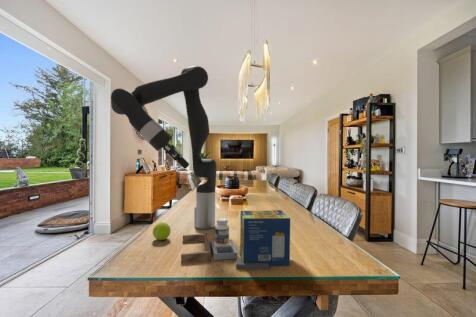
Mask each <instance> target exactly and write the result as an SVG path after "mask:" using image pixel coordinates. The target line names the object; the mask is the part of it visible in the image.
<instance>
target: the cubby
mask: <svg viewBox="0 0 476 317" xmlns="http://www.w3.org/2000/svg"><path fill="white" fill-rule="evenodd" d="M190 242H191V243H194V242H195V243H196V242H203V243H204V250H205V251H204V250H203V251H193V252H192V251H191V252H181V253H180V263H192V262H193V263H194V262H204V261H205V262H206V261H207V262H208V261H212V249H211V244H210V242H209V237H208V233H192V234H191V233H190V234H182V243H190Z"/></svg>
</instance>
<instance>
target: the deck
mask: <svg viewBox="0 0 476 317" xmlns="http://www.w3.org/2000/svg"><path fill="white" fill-rule="evenodd" d="M210 250H211V254H212V257H213V260H214V261H218V260H219V261H220V260H230V259H231V260H233V259H234V260H235V259H237V258H239V257H238V255H239V254H238V253H239V252H238V250H237V249H236V246H235V244H234V242H233V240H232V239H229V243H228V244H227V245H217V244H216V243H215V240H211V241H210Z"/></svg>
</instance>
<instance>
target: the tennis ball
mask: <svg viewBox="0 0 476 317" xmlns="http://www.w3.org/2000/svg"><path fill="white" fill-rule="evenodd" d="M171 231H172V230H171V227H170V225H169V224H168V223H166V222H159V223H158V222H157V223H156V224H155V225H154V227H153V229H152V235H153V238H154V239H155V240H157V241H163V240H164V241H165V240H167V238H168V237H169V236H170V235H171ZM168 239H169V238H168Z"/></svg>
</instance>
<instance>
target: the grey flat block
mask: <svg viewBox="0 0 476 317" xmlns="http://www.w3.org/2000/svg"><path fill="white" fill-rule="evenodd" d="M235 263H236V264H235V270H246V271H247V270H250V271H269V270H270V268H269V267H270V266H269V264H268V263H246V262H242V258H241V257H238V258H236V262H235Z"/></svg>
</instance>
